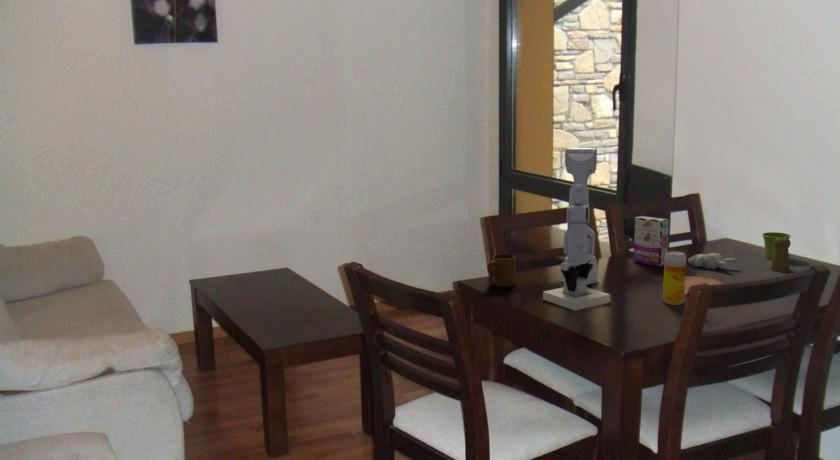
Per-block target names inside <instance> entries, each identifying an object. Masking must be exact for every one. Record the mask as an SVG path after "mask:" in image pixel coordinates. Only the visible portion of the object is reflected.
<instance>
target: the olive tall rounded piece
mask: <svg viewBox="0 0 840 460" xmlns="http://www.w3.org/2000/svg"><path fill="white" fill-rule="evenodd" d="M774 246H775V250H774V255H773V259H771V260H772V261H771V265H770V270H771V271H772V272H779V273H788V272H790V270H791V268H790V257H789V256H790V253H789V248H790V246H791V240H790V238H789V239H787V238H776V239H775V240H774Z"/></svg>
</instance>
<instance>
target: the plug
mask: <svg viewBox="0 0 840 460" xmlns="http://www.w3.org/2000/svg"><path fill="white" fill-rule="evenodd" d="M563 280H564V282H562V283H563V284H562V285H563V286H562V288H563V294H567V295H569V296H573V297H575V296H576V297H581V296H584V294H585V293H587V287H588V286H587V279H586V278H581V277H577V282H576V289H575V292H572V291H568V288H567V284H566V280H565V278H564V279H563Z"/></svg>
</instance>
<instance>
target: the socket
mask: <svg viewBox="0 0 840 460" xmlns="http://www.w3.org/2000/svg"><path fill="white" fill-rule="evenodd" d="M542 300H543V301H547V302H549V303H552V304H556V305H558V306H560V307H563V308H567V309H569V310H572V311H579V310H584V309H589V308H592V307H596V306H601V305H605V304H609V303H611V294H610V293H607V292H603V291H600V290H597V289H594V288H590V287H588V286H587V293H585V294H584V296H581V297H576V296H575V297H573V296H569V295H567V294H563V287H559V288H554V289H550V290H543V291H542Z"/></svg>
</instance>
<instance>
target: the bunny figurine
mask: <svg viewBox="0 0 840 460" xmlns="http://www.w3.org/2000/svg"><path fill="white" fill-rule="evenodd" d="M687 261H688V262H687V263H688V264H690V265H691V266H692V267H695V268H699V267H702V268H704V269H706V270H707V269H708V270H716V269H719V268H720V267H721V266H722V267H723V266H724V267H725V266H728V265H729V263H737V260H736V258H734V257H733V258H723V257H722V255H721V253H718V252H711V253H707V254H706V253H705V254H703V253H698V254H695V255H692V256H691V257H688V259H687Z"/></svg>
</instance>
